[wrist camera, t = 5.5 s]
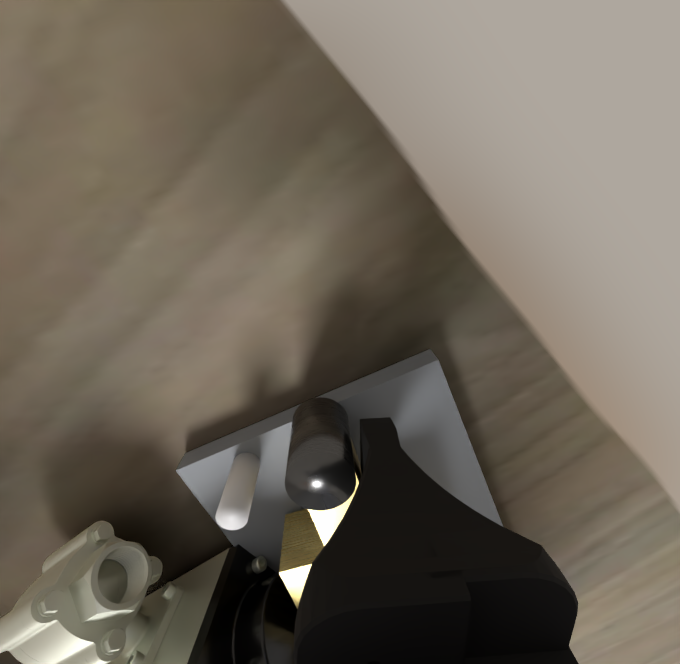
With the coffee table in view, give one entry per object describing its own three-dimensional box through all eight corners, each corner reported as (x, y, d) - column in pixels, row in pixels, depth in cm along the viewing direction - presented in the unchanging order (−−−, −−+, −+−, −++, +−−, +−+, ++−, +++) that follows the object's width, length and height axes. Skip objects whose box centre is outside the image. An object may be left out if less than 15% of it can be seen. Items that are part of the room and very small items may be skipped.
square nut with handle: (383, 377, 13) (402, 428, 10) (439, 570, 16) (464, 650, 13) (241, 419, 13) (218, 480, 10) (325, 600, 16) (326, 684, 13)
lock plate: (517, 570, 18) (573, 675, 14) (322, 640, 19) (323, 756, 15) (430, 348, 14) (475, 409, 10) (184, 453, 15) (134, 547, 11)
